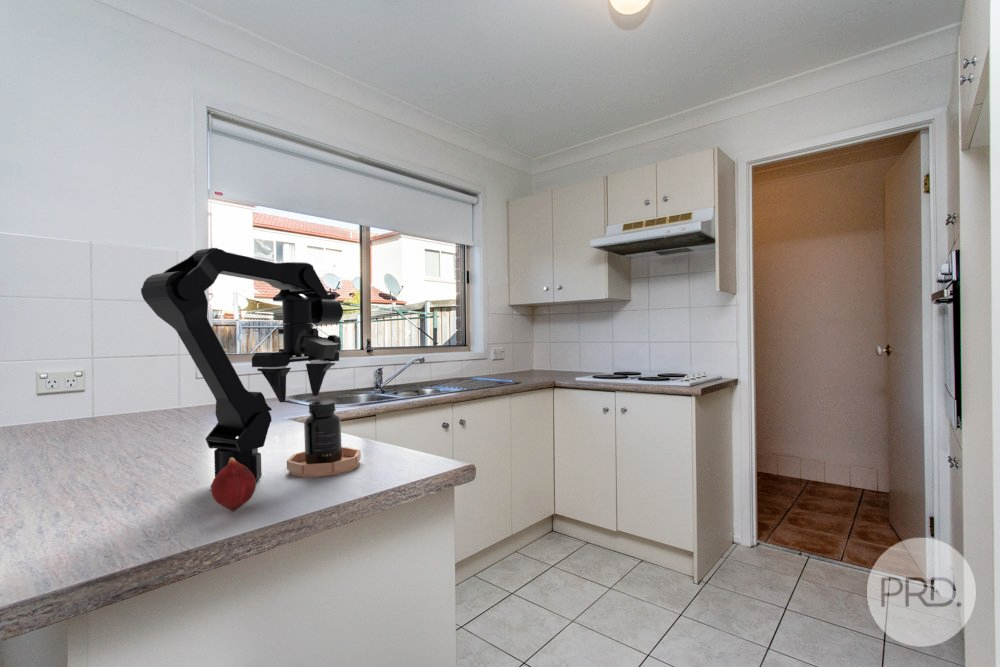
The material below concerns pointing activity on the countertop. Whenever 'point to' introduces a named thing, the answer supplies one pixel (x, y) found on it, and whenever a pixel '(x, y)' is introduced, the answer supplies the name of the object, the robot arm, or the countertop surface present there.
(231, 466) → the onion
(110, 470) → the countertop surface
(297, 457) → the terracotta saucer
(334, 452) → the supplement bottle
